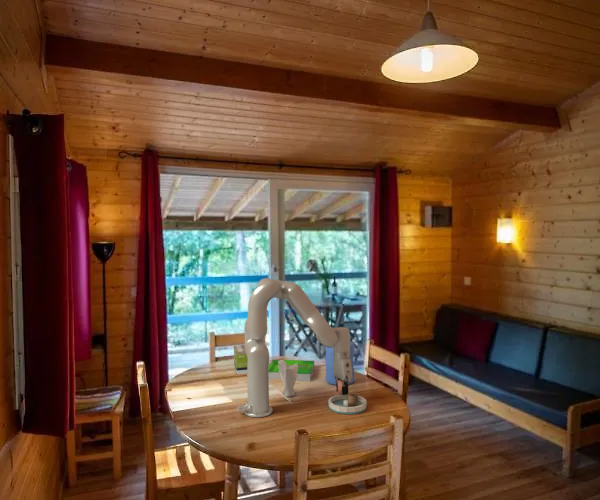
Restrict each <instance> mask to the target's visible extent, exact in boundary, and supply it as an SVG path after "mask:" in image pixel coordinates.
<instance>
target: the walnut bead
mask: <svg viewBox="0 0 600 500" xmlns="http://www.w3.org/2000/svg"><path fill="white" fill-rule="evenodd" d="M358 396H359V395H358V394H357V393H348V407H355V406H358Z"/></svg>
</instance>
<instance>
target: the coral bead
mask: <svg viewBox="0 0 600 500" xmlns="http://www.w3.org/2000/svg"><path fill="white" fill-rule="evenodd" d="M344 382H346V381H344ZM342 386H343V384H342V380H338V392H337V395H342Z"/></svg>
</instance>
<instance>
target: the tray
mask: <svg viewBox="0 0 600 500" xmlns="http://www.w3.org/2000/svg"><path fill="white" fill-rule="evenodd" d="M279 360H280V359H273V360H272V361H271V362H270V363H269V379H281V376H280V373H279V368H278V365H279V364H278V361H279ZM283 360H284V361H285V363H286V364H287V365H294V364H295V363H298V372H297V377H296V380H297V381H296V382H311V380H312V377H313V374H312V373H314V371H313V370H315V360H300V359H298V360H295V359H293V360H292V359H283ZM288 367H289V366H288Z"/></svg>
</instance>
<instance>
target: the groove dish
mask: <svg viewBox="0 0 600 500" xmlns="http://www.w3.org/2000/svg"><path fill="white" fill-rule="evenodd" d="M348 394H349V393H348ZM348 394H347V395H339V394H337V395H336V394H335V395H332V396H331V397H329V398H328V403H327V404H328V409H329V410H330V411H331V412H333V413H336V414H340V415H350V416H351V415H358V414H361V413H363V412H365V411H366V410H367V405H368V403H367V399H366V398H365V397H363V396H360V395H358V406H355V407H348Z"/></svg>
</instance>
